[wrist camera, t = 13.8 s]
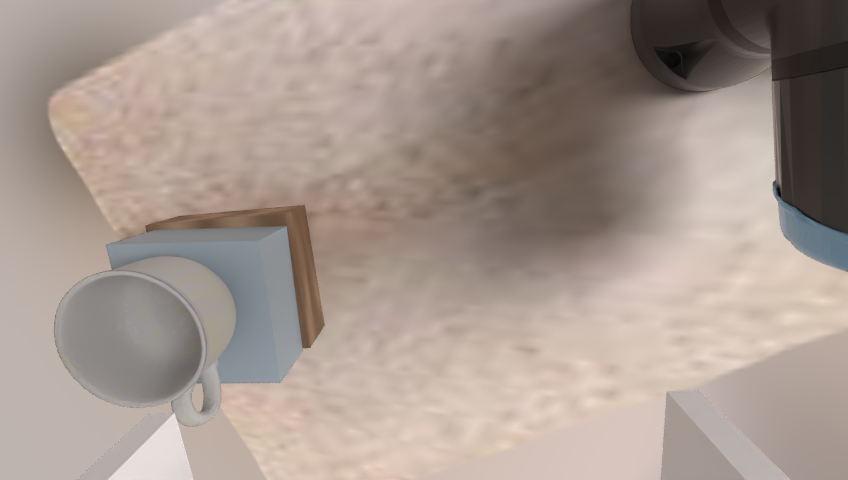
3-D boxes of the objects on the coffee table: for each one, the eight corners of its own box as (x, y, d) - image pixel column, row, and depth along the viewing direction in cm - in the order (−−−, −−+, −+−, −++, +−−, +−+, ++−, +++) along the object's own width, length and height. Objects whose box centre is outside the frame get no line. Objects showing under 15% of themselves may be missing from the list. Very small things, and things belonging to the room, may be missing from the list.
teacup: (117, 259, 35) (23, 293, 27) (228, 230, 34) (164, 257, 26) (178, 392, 38) (110, 456, 30) (282, 369, 37) (239, 431, 29)
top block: (286, 226, 39) (259, 240, 34) (302, 350, 43) (280, 382, 37) (154, 230, 40) (105, 244, 34) (180, 351, 44) (140, 383, 38)
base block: (306, 204, 45) (285, 213, 39) (325, 323, 49) (309, 347, 43) (182, 215, 46) (145, 225, 40) (211, 330, 50) (180, 355, 44)
